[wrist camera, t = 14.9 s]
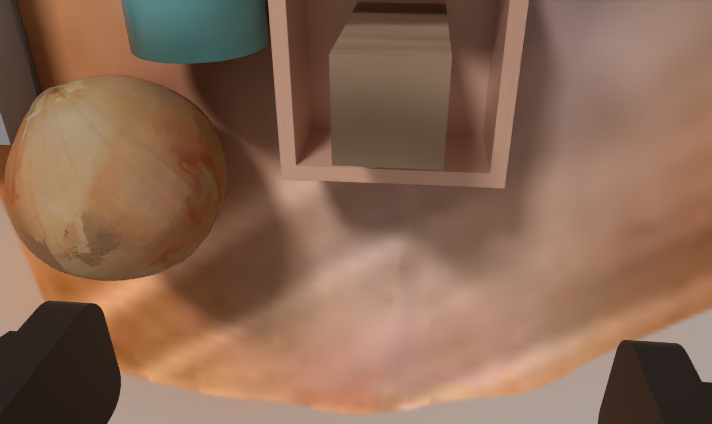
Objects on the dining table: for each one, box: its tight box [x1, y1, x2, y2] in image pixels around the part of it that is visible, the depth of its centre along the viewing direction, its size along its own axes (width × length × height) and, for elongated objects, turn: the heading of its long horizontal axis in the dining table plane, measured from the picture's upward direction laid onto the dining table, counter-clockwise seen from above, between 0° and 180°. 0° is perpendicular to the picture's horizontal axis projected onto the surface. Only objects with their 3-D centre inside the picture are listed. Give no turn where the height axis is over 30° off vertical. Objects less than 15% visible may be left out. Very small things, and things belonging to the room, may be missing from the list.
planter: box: [268, 0, 529, 188], centre depth 27 cm, size 10×10×5 cm
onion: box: [4, 75, 227, 281], centre depth 28 cm, size 10×10×10 cm
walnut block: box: [329, 2, 452, 170], centre depth 24 cm, size 4×4×9 cm
